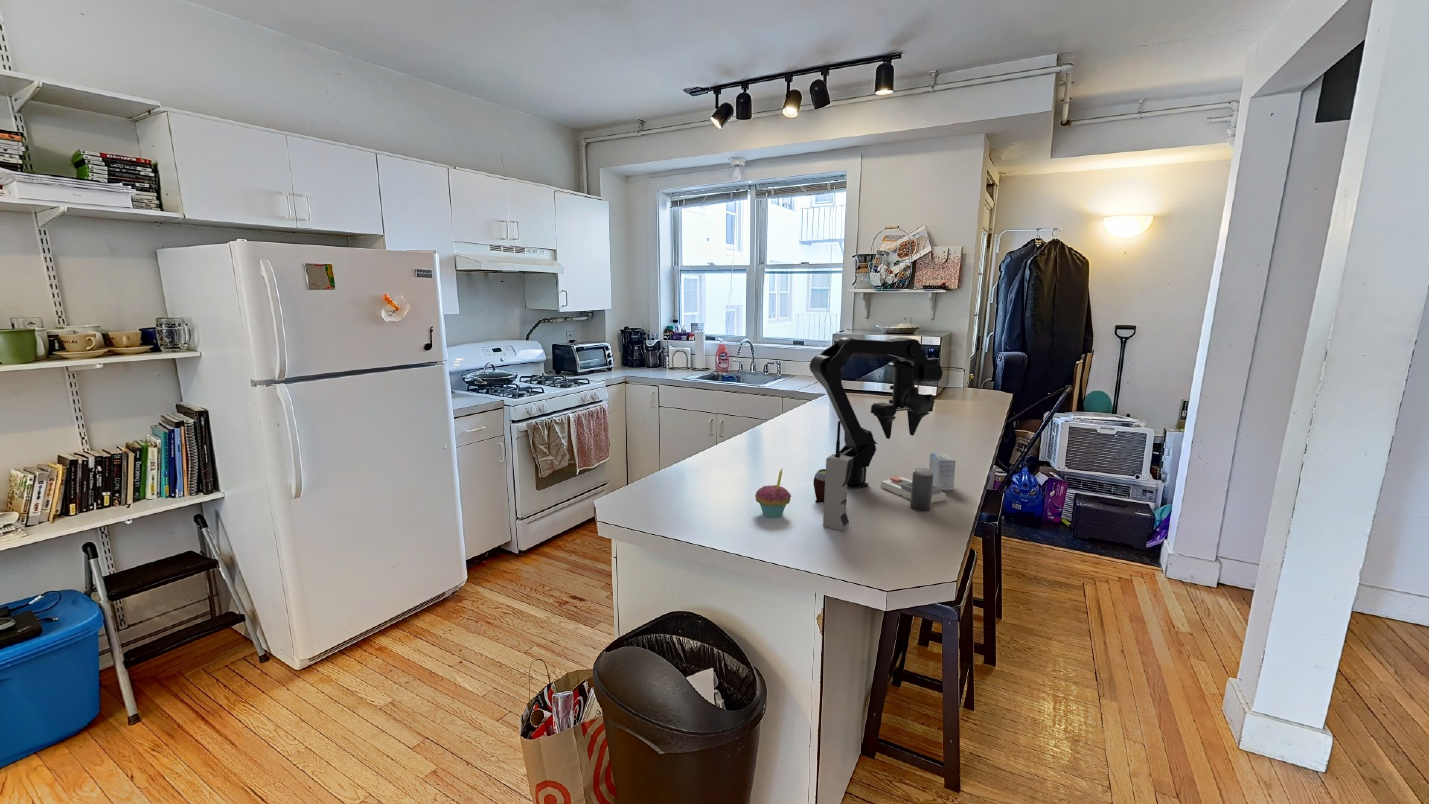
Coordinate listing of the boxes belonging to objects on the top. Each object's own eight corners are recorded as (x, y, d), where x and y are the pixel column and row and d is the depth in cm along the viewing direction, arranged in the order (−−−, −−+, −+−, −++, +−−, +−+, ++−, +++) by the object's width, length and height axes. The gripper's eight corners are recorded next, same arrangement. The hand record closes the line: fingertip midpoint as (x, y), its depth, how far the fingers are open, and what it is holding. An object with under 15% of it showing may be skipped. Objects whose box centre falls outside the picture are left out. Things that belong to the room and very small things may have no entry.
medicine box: (953, 490, 157) (956, 460, 156) (937, 490, 157) (940, 460, 156) (942, 481, 165) (945, 452, 163) (927, 481, 165) (929, 452, 164)
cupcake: (793, 510, 141) (795, 464, 139) (785, 523, 133) (787, 474, 131) (759, 506, 144) (760, 460, 142) (750, 518, 136) (751, 469, 134)
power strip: (922, 504, 146) (923, 493, 146) (881, 487, 159) (881, 477, 159) (944, 500, 150) (945, 489, 149) (902, 483, 163) (902, 473, 162)
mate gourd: (808, 498, 150) (810, 443, 147) (834, 495, 152) (837, 441, 150) (821, 508, 143) (824, 450, 140) (849, 505, 146) (852, 448, 143)
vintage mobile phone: (843, 532, 129) (849, 424, 124) (822, 527, 131) (828, 421, 127) (849, 526, 132) (855, 421, 127) (828, 522, 134) (834, 418, 130)
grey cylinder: (915, 512, 141) (918, 473, 140) (907, 505, 146) (910, 467, 144) (933, 511, 142) (937, 473, 140) (925, 504, 146) (928, 467, 145)
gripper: (901, 389, 149) (896, 447, 152) (950, 385, 157) (945, 440, 160) (871, 383, 159) (867, 438, 161) (919, 379, 167) (915, 431, 170)
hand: (900, 437), depth 163 cm, fingers open, 9 cm apart
